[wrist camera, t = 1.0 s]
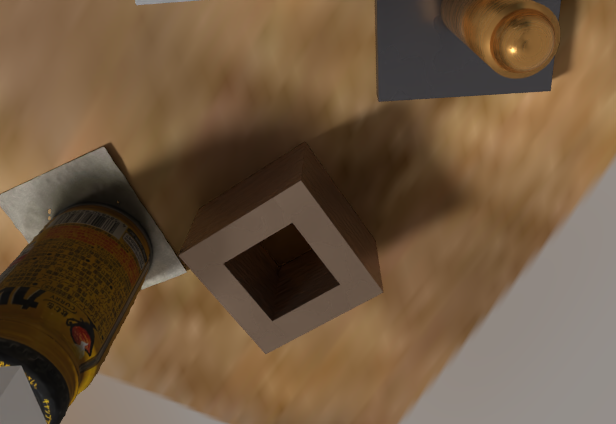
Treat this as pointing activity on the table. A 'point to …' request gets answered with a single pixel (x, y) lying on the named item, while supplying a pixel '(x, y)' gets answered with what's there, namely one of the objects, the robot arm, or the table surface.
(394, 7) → the keeper
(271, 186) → the link
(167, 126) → the table surface
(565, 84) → the table surface
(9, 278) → the condiment
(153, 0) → the grey hollow block
